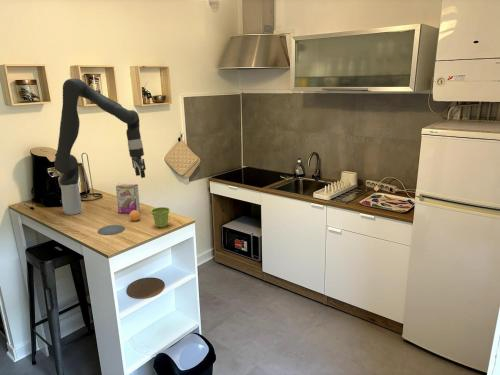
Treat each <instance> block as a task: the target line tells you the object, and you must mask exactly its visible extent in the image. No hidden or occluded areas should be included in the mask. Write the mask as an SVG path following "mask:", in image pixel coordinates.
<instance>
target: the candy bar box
mask: <svg viewBox="0 0 500 375" xmlns="http://www.w3.org/2000/svg"><path fill="white" fill-rule="evenodd" d="M115 191H116V199H117V200H116V201H117V211H118V214H130V212H131V211H133V210H137V211H138V212H139V213H140V211H141V208H140V206H141V205H140V194H139V185H138V183H118V184H116V185H115Z"/></svg>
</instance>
